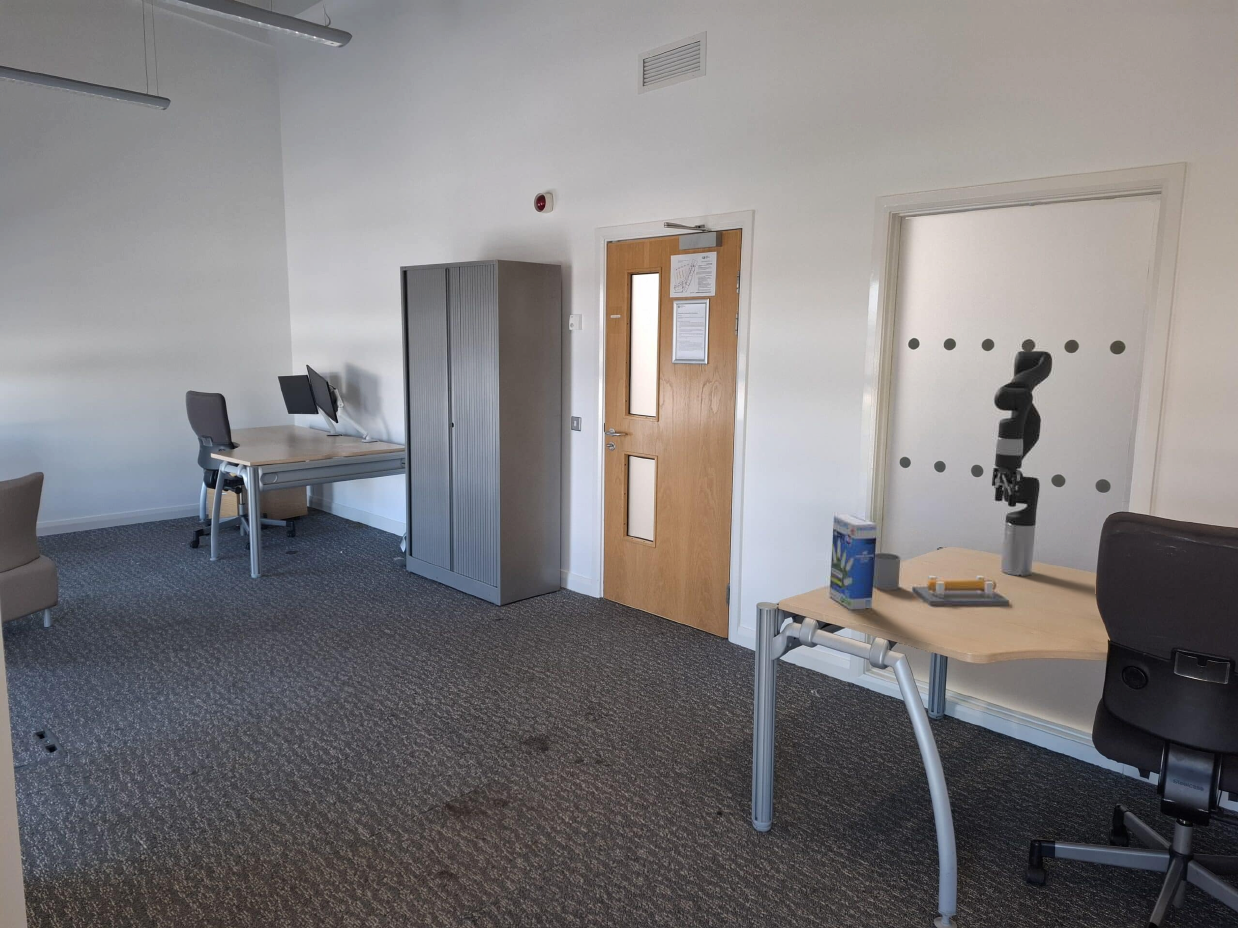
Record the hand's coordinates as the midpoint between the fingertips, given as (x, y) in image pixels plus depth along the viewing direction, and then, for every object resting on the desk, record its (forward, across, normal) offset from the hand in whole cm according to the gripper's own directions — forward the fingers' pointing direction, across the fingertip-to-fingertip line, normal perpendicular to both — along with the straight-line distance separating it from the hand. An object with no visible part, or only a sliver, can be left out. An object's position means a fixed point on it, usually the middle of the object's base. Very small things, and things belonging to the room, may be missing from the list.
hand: (1005, 503), depth 260 cm
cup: (+28, +4, +35) cm, 45 cm away
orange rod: (+26, -8, +16) cm, 31 cm away
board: (+28, -8, +16) cm, 33 cm away
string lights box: (+28, -12, +51) cm, 60 cm away
